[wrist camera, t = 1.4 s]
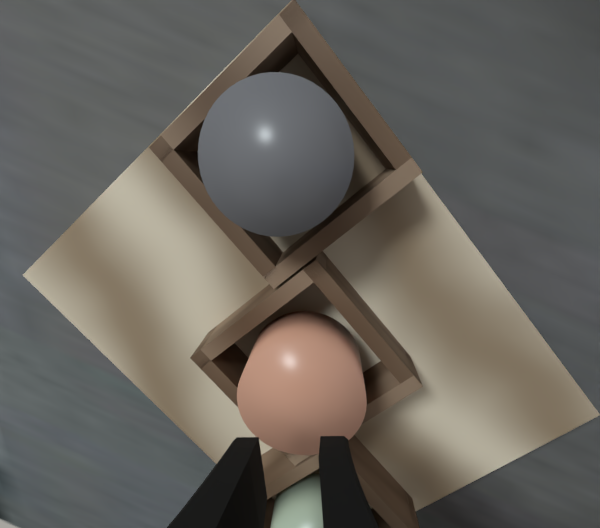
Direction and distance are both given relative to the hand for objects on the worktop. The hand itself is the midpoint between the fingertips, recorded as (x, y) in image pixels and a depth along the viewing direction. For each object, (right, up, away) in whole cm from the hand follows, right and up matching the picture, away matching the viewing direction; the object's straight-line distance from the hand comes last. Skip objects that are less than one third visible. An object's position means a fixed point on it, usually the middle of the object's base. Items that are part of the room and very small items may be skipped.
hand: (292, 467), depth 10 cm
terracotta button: (0, +1, +5) cm, 5 cm away
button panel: (+1, +2, +8) cm, 8 cm away
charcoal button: (0, +9, +3) cm, 10 cm away
